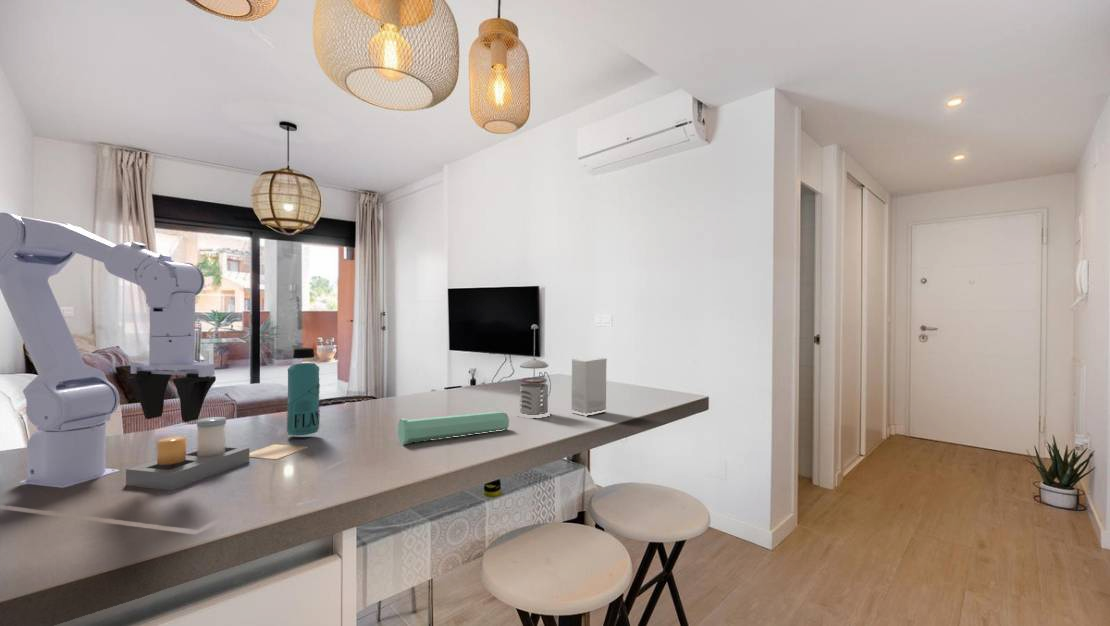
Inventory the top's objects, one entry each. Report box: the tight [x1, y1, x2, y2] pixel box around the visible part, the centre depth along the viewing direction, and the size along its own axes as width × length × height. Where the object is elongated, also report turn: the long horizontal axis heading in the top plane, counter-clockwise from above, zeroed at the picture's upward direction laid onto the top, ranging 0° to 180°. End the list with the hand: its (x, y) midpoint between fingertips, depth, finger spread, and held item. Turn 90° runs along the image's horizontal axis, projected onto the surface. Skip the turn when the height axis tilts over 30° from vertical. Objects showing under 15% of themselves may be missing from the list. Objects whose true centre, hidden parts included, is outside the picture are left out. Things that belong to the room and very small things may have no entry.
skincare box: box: [571, 356, 607, 414], centre depth 131 cm, size 8×7×16 cm
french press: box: [519, 323, 552, 415], centre depth 128 cm, size 10×12×25 cm
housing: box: [125, 445, 250, 491], centre depth 79 cm, size 9×14×3 cm, turn 168°
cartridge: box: [196, 416, 227, 457], centre depth 83 cm, size 4×4×8 cm
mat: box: [249, 443, 308, 461], centre depth 91 cm, size 8×8×1 cm
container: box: [397, 410, 510, 446], centre depth 106 cm, size 6×6×25 cm
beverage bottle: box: [286, 347, 321, 436], centre depth 102 cm, size 6×7×20 cm
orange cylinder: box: [156, 436, 187, 465], centre depth 76 cm, size 4×4×4 cm
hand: (171, 419), depth 76 cm, fingers open, 7 cm apart
